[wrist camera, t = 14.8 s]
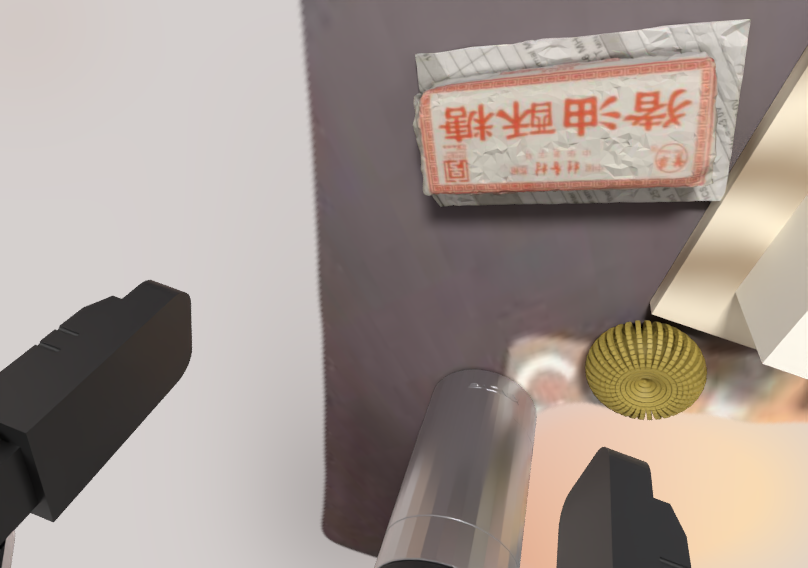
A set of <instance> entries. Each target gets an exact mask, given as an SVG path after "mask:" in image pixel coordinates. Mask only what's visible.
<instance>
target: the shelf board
mask: <svg viewBox="0 0 808 568" xmlns="http://www.w3.org/2000/svg"><path fill="white" fill-rule="evenodd" d="M807 194H808V46H807V47H806V49H805V51H804V52H803V54H802V55H801V57H800V59H799V60H798V62H797V64H796V65H795V67H794V68H793V70H792V72H791V73H790V75H789V77H788V78H787V80H786V81H785V83H784V85H783V86H782V88H781V90H780V91H779V93H778V94H777V96H776V98H775V99H774V101H773V103H772V104H771V106H770V107H769V109H768V111H767V112H766V114H765V116H764V117H763V119H762V120H761V122H760V124H759V125H758V127H757V129H756V130H755V132H754V133H753V135H752V137H751V138H750V140H749V142H748V143H747V145H746V146H745V148H744V150H743V151H742V153H741V155H740V156H739V158H738V159H737V161H736V163H735V164H734V166H733V168H732V169H731V171H730V172H729V174H728V180H727V185H726V191H725V194H724V195H723V197H722V199H721V201H712V202H711V203H710V205H709V207H708V208H707V210H706V211H705V213H704V215H703V216H702V218H701V220H700V221H699V223H698V224H697V226H696V228H695V229H694V231H693V233H692V234H691V236H690V237H689V239H688V241H687V242H686V244H685V246H684V247H683V249H682V250H681V252H680V254H679V255H678V257H677V259H676V260H675V262H674V263H673V265H672V267H671V268H670V270H669V272H668V273H667V275H666V276H665V278H664V280H663V281H662V283H661V285H660V286H659V288H658V289H657V291H656V293H655V294H654V296H653V298H652V299H651V301H650V306H651V313H652V315H655V316H658V317H661V318H664V319H667V320H670V321H673V322H676V323H679V324H682V325H685V326H688V327H691V328H694V329H697V330H700V331H703V332H706V333H709V334H712V335H715V336H718V337H721V338H724V339H727V340H730V341H733V342H736V343H739V344H741V345H744V346H747V347H750V348H753V349H756V346H755V343H754V341H753V338H752V335H751V333H750V330H749V327H748V325H747V322H746V319H745V317H744V314H743V311H742V309H741V306H740V303H739V301H738V298H737V295H736V293H735V292H736V290H737V289H738V288H739V286H740V285H741V284H742V282H743V281H744V279H745V278H746V277H747V275H748V274H749V273H750V271H751V270H752V269H753V267H754V266H755V265H756V263H757V262H758V261H759V259H760V258H761V256H762V255H763V254H764V252H765V251H766V250H767V248H768V247H769V246H770V244H771V243H772V242H773V240H774V239H775V237H776V236H777V235H778V233H779V232H780V231H781V229H782V228H783V227H784V225H785V224H786V223H787V221H788V220H789V219H790V217H791V216H792V214H793V213H794V212H795V210H796V209H797V208H798V206H799V205H800V204H801V202H802V201H803V200H804V198H805V197H806V195H807ZM756 350H757V349H756Z"/></svg>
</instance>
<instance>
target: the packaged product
mask: <svg viewBox="0 0 808 568" xmlns="http://www.w3.org/2000/svg"><path fill="white" fill-rule="evenodd" d="M750 21H751V19H743V20H730V21H717V22H703V23H691V24H679V25H667V26H660V27H654V28H648V29H643V30H635V31H626V32H617V33H608V34H599V35H590V36H582V37H574V38H547V39H540V40H536V41H534V40H531V41H525V42H521V43H516V44H511V45H506V44H504V45H492V46H480V47H469V48H463V49H457V50H452V51H446V52H440V53H426V54H416V55H415V58H416V63H417V73H418V83H419V90H420V93H418V94H417V95H416V96H414V108H415V119H414V122H413V127H414V132H415V136H416V140H417V144H418V148H419V151H420V153H421V172H422V173H423V180H424V181H423V192H424V194H425V195H429V196H430V195H433V198H434V199H435V201H436V202H437V203H438V204H439V206H440V207H444V206H451V205H456V206H462V205H509V204H518V205H521V204H562V203H572V204H577V203H614V202H679V201H684V202H691V201H721V199H722V197H723V195H724V194H725V191H726V185H727V180H728V172H729V164H730V159H731V153H732V146H733V139H734V132H735V125H736V119H737V112H738V105H739V97H740V89H741V83H742V77H743V71H744V63H745V55H746V49H747V41H748V33H749V27H750Z"/></svg>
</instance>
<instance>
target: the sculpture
mask: <svg viewBox="0 0 808 568" xmlns="http://www.w3.org/2000/svg"><path fill="white" fill-rule="evenodd" d="M635 324H636V331H635V329H634V325H633V324H632V322H626V323H625V325H623V324H620V325H617V327H614V328H611V329H609V330H608V331H606V332H604V333H603V334H602V335H601V336H600V337H599V338H598V339H597V340H596V341H595V343H594V344H593V345H592V346H591V348H590V350H589V354H588V355H587V358H586V365H585V366H586V369H585V370H586V372H585V373H586V379H587V380H588V384H589V387H590V389H591V390H592V392H593V394H594V395H595V396H596V397H597V399H599V401H601V402H602V403H603V404H604V405H605V406H607V408H609V409H612V411H614V412H616V413H619V414H621V415H624V416H628V415H629V417H630V418H634V419H635V418H636V417H638V419H640V420H644V417H645V412H646V413H647V420H652V414H653V415H654V418H655V419H661V417H663V418H668V417H670V416H674V415H677V414H678V413H680V412H683V411H684V410H686V409H687V407H688V408H689V407H690V406H691V405H692V404H693V403H694V402H695V401H696V400H697V399H698V397H699V396H700V394H701V393H702V390H703V389H704V386H705V383H706V379H707V378H706V375H707V367H706V362H705V359H704V356H703V355H702V352H701V351H700V349H699V347H698V346H697V344H696V343H695V342H694V341H693V340H692V339H691V338H690V337H689V336H688V335H686V334H685V333H684V332H683V333H682V332H681V331H680V330H679V329H676V328H675V327H671V326H670V325H668V324H661V323H660V322H656V321H654V322H653V323H652V324H651V322H650V321H646V320H645V321H644V324H643V333H642V332H641V324H640V321H635ZM655 329H656V330H655ZM654 330H655V331H654ZM622 331H623V332H624V333H625V334H626V335H625V334H624V333H623V332H622ZM653 331H654V333H653ZM632 335H633V336H632ZM646 336H647V337H646ZM664 347H665V348H664ZM618 352H619V353H618ZM675 361H676V362H675ZM603 366H604V367H603ZM685 369H686V370H685ZM605 384H606V385H605ZM627 394H628V395H627ZM645 409H646V410H645ZM651 411H652V414H651Z"/></svg>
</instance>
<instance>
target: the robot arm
mask: <svg viewBox="0 0 808 568" xmlns="http://www.w3.org/2000/svg"><path fill="white" fill-rule="evenodd" d="M191 332H192V330H191V300H190V296H189V295H188V294H187V293H185V292H182V291H180V290H177V289H174V288H171V287H169V286H166V285H163V284H160V283H158V282H155V281H152V280H148V281H145V282H143V283H141V284H140V285H138V286H137V287H136V288H135V289H134V290H132V291H131V292H130V293H129V294H128V295H126V296H125V297H124V298H123V299H120V298H117V297H115V296H111V297H108V298H106V299H104V300H101V301H99V302H96V303H94V304H91V305H89V306H86V307H84V308H82V309H81V310H79V311H78V312H77V313H76V314H74V315H73V316H72V317H70V318H69V319H68V320H67V321H65V322H64V323H63V324H61V325H60V327H59V329H58V330H54V331H52V332H51V333H50V334H48V335H47V336H46V337H45V338H43V339H42V340H41V341H40V344H39V345H38V346H37V345H34V346H33V347H32V348H30V349H29V350H28V351H27V352H25V353H24V354H23V355H22V356H20V357H19V358H18V359H16V360H15V361H14V362H12V363H11V364H10V365H9V366H7V367H6V368H5V369H3V370H2V371H1V372H0V568H11V563H12V556H13V549H14V541H15V529H16V527H18V525H19V524H20V523H21V522H22V521H23V520H24V519H25V518H26V517H27V516H28V515H29V514H30V513H32V514H35V515H37V516H40V517H42V518H44V519H47V520H49V521H51V522H54V521H55V520H56V519H57V518H58V517H59V516H60V514H61V513H62V512H63V511H64V510H65V509H66V508H67V507H68V505H69V504H70V503H71V502H72V501H73V500H74V499H75V497H77V495H78V494H79V493H80V492H81V491H82V490H83V488H84V487H85V486H86V485H87V484H88V483H89V482H90V481H91V480H92V478H93V477H94V476H95V475H96V474H97V473H98V472H99V470H100V469H101V468H102V467H103V466H104V465H105V464H106V462H107V461H108V460H109V459H110V458H111V457H112V456H113V455H114V453H115V452H116V451H117V450H118V449H119V448H120V447H121V446H122V444H123V443H124V442H125V441H126V440H127V439H128V438H129V436H130V435H131V434H132V433H133V432H134V431H135V430H136V429H137V427H138V426H139V425H140V424H141V423H142V422H143V421H144V420H145V418H146V417H147V416H148V415H149V414H150V413H151V411H152V410H153V409H154V408H155V407H156V406H157V405H158V403H160V401H161V400H162V399H163V398H164V397H165V396H166V394H167V393H168V392H169V391H170V390H171V389H172V388H173V387H174V385H175V384H176V383H177V382H178V381H179V380H180V378H181V377H182V375H183V374H184V372H185V370H186V368H187V366H188V364H189V361H190V357H191V353H192V333H191ZM535 426H536V408H535V406H534V403H533V400H532V399H531V397H530V396H529V395H528V393H527V392H526V391H525V390H524V389H523V388H522V387H521V386H520V385H519V384H517V383H516V382H514V381H513V380H511V379H510V378H507V377H505V376H503V375H501V374H498V373H494V372H491V371H487V370H478V369H472V370H462V371H458V372H454V373H452V374H450V375H448V376H446V377H444V378H443V379H442V380H441V381H439V383H438V384H437V385H436V387H435V388H434V391H433V394H432V397H431V400H430V403H429V405H428V408H427V411H426V414H425V417H424V420H423V423H422V425H421V428H420V431H419V434H418V437H417V440H416V443H415V446H414V449H413V452H412V455H411V458H410V461H409V464H408V467H407V470H406V473H405V476H404V479H403V482H402V485H401V488H400V491H399V494H398V497H397V500H396V503H395V506H394V509H393V512H392V515H391V518H390V521H389V524H388V527H387V530H386V533H385V537H384V540H383V543H382V546H381V549H380V552H379V555H378V558H377V561H376V564H375V568H520V559H521V550H522V541H523V532H524V523H525V514H526V504H527V496H528V487H529V479H530V470H531V461H532V453H533V444H534V435H535ZM558 534H559V535H558V551H557V568H691V563H690V556H689V550H688V543H687V537H686V535H685V533H684V530H683V528H682V526H681V525H680V523H679V521H678V519H677V517H676V515H675V513H674V511H673V509H672V507H671V505H670V504H669V503H666V502H663V501H661V500H658V499H655V498H653V490H652V480H651V472H650V468H649V465H648V464H647V463H646V462H644V461H641V460H639V459H636V458H633V457H631V456H627V455H625V454H622V453H619V452H617V451H614V450H611V449H609V448H606V447H602V448H600V449H599V450H598V452H597V453H596V454H595V456H594V457H593V459H592V460H591V462H590V463H589V465H588V466H587V468H586V469H585V471H584V472H583V473H582V475H581V476H580V478H579V479H578V481H577V482H576V484H575V485H574V486H573V488H572V490H571V491H570V492H569V494H568V496H567V498H566V500H565V503H564V505H563V509H562V512H561V516H560V522H559V533H558Z"/></svg>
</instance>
